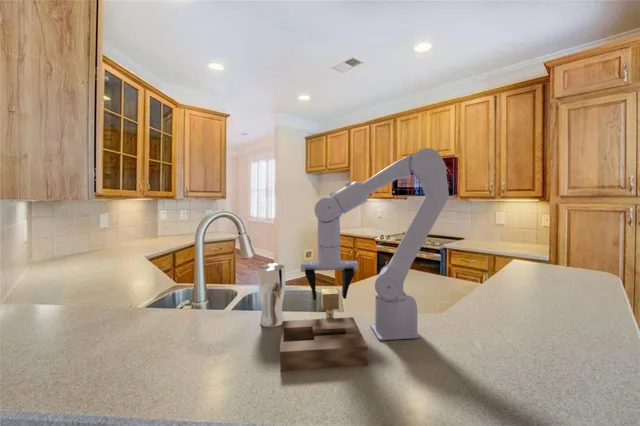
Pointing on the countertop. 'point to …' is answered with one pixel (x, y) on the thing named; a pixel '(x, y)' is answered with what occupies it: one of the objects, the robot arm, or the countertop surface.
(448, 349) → the countertop surface
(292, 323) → the keyhole board
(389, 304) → the robot arm
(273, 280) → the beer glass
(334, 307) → the brass peg
